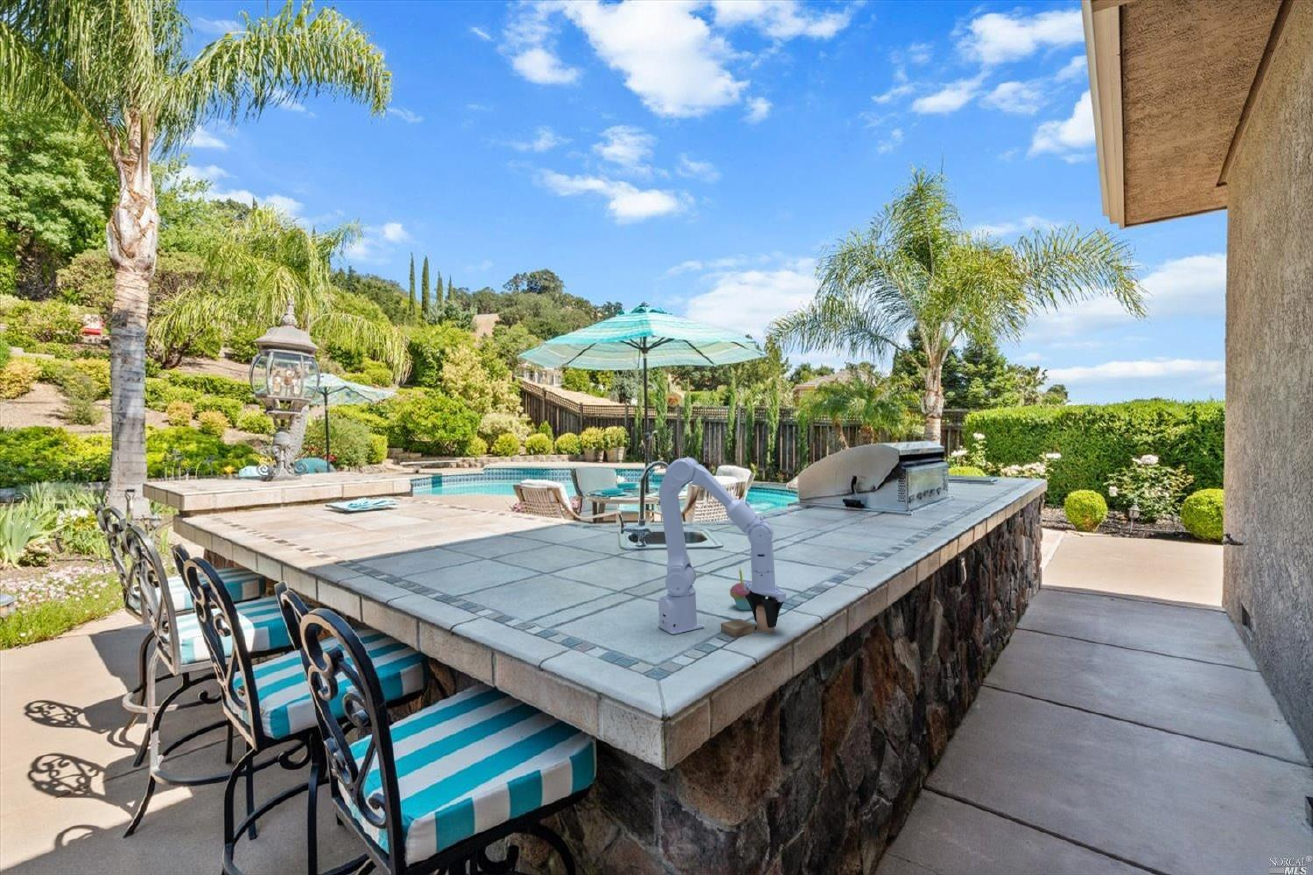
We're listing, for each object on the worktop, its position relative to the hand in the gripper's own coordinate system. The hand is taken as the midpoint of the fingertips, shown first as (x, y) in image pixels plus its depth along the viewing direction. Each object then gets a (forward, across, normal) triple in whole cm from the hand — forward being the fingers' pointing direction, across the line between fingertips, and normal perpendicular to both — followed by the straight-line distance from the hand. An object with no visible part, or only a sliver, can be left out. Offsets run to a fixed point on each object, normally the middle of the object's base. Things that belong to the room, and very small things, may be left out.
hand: (765, 624), depth 144 cm
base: (+1, +3, +6) cm, 7 cm away
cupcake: (+2, +18, -8) cm, 20 cm away
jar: (+1, 0, 0) cm, 1 cm away
